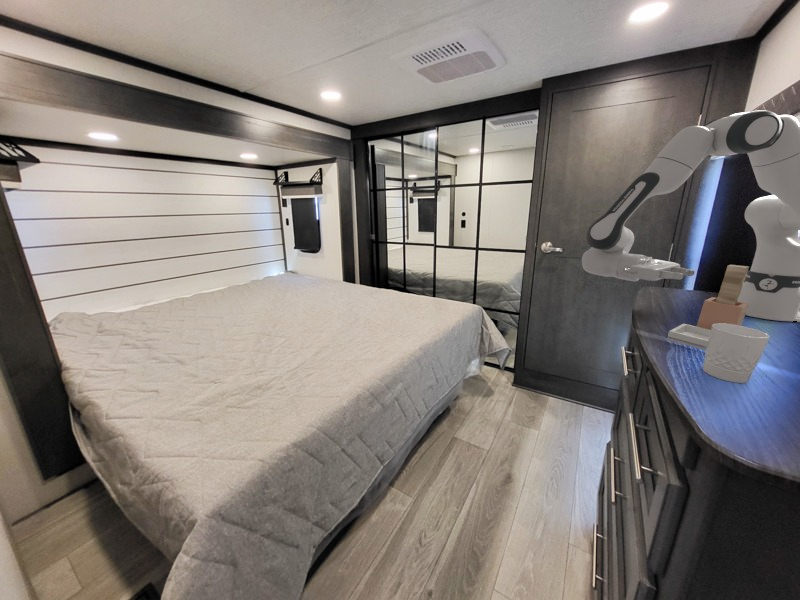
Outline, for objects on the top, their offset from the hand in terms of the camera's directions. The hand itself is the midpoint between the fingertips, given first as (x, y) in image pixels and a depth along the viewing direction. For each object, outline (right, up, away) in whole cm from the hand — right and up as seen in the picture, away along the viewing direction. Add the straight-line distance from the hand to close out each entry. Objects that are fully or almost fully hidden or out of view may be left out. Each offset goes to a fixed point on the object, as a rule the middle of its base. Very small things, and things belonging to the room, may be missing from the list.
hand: (688, 275), depth 91 cm
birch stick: (+5, -16, -4) cm, 17 cm away
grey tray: (-7, -19, -11) cm, 23 cm away
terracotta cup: (+5, -17, -3) cm, 18 cm away
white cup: (-18, -23, -27) cm, 40 cm away
